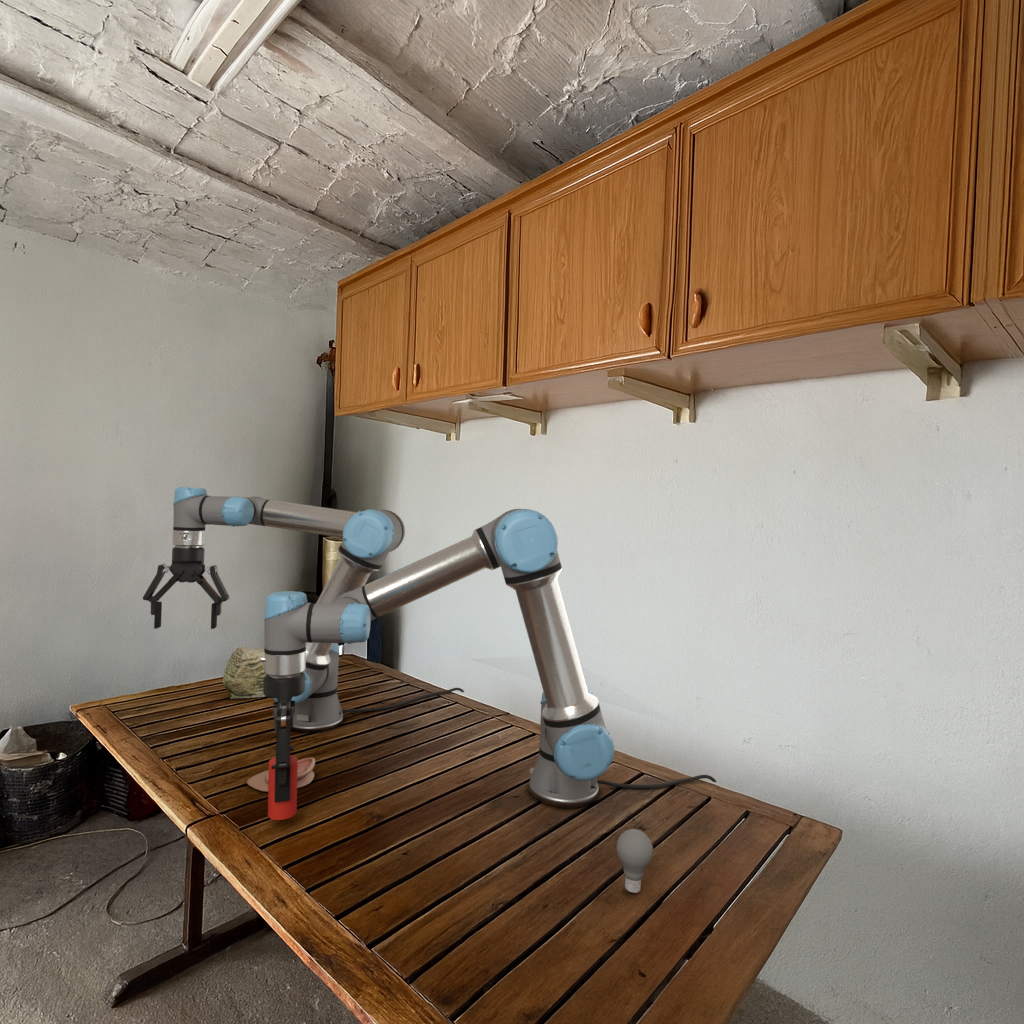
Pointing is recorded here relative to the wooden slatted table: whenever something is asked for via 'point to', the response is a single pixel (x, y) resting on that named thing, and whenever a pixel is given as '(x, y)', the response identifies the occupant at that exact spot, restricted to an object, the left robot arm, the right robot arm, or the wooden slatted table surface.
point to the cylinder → (290, 807)
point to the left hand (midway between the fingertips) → (185, 627)
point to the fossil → (245, 673)
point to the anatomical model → (303, 775)
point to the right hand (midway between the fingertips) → (282, 793)
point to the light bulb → (634, 857)
